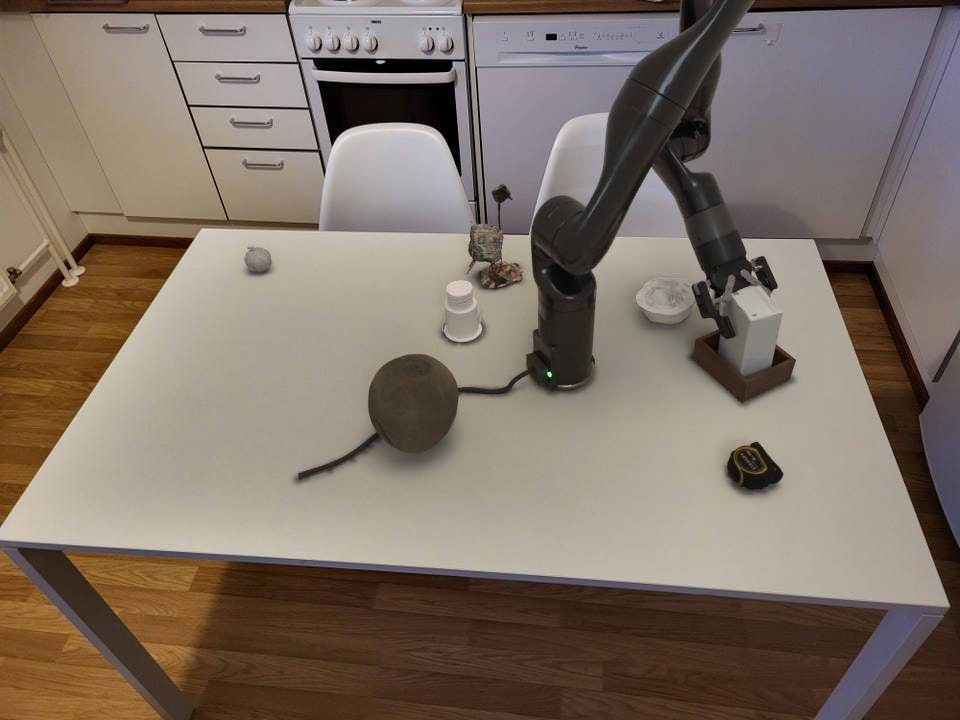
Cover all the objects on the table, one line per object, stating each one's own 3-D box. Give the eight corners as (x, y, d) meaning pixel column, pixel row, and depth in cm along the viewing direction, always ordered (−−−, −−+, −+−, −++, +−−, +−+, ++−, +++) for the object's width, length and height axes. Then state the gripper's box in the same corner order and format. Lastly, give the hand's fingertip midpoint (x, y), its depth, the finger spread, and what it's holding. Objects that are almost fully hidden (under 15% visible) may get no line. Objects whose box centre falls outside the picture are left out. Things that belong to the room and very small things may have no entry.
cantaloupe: (468, 460, 121) (462, 394, 110) (378, 475, 119) (363, 409, 109) (455, 397, 131) (448, 330, 121) (372, 410, 130) (358, 344, 119)
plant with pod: (468, 265, 158) (461, 179, 144) (523, 264, 157) (521, 177, 143) (466, 290, 152) (458, 202, 138) (523, 289, 151) (521, 201, 138)
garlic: (241, 268, 161) (235, 247, 158) (264, 257, 164) (258, 236, 160) (256, 280, 158) (250, 259, 155) (279, 268, 161) (273, 248, 157)
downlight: (477, 314, 147) (474, 271, 140) (489, 337, 142) (487, 294, 135) (437, 324, 145) (432, 282, 138) (448, 347, 140) (443, 305, 133)
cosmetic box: (768, 381, 130) (787, 313, 119) (734, 388, 129) (751, 321, 119) (744, 349, 136) (761, 282, 125) (712, 355, 135) (726, 288, 125)
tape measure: (781, 486, 114) (787, 470, 111) (741, 499, 113) (745, 484, 110) (756, 453, 119) (761, 437, 116) (716, 465, 117) (720, 449, 115)
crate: (741, 403, 126) (747, 383, 123) (691, 358, 135) (695, 339, 132) (790, 379, 130) (796, 359, 127) (738, 337, 138) (742, 317, 135)
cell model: (707, 316, 143) (713, 287, 138) (659, 342, 138) (664, 313, 133) (668, 289, 149) (672, 260, 144) (621, 314, 144) (624, 285, 140)
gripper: (692, 245, 120) (731, 341, 120) (762, 217, 124) (799, 310, 125) (667, 256, 127) (703, 347, 127) (734, 229, 132) (769, 317, 132)
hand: (751, 328), depth 126 cm, fingers open, 8 cm apart
